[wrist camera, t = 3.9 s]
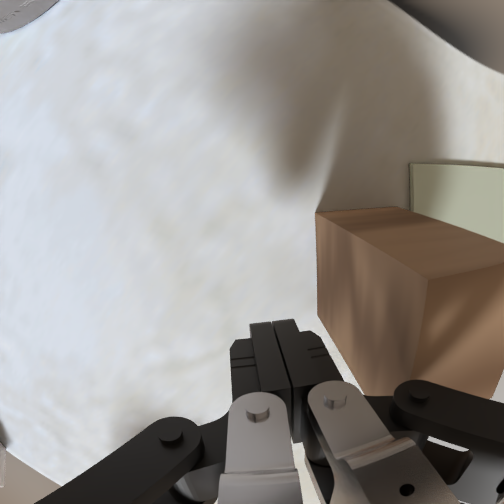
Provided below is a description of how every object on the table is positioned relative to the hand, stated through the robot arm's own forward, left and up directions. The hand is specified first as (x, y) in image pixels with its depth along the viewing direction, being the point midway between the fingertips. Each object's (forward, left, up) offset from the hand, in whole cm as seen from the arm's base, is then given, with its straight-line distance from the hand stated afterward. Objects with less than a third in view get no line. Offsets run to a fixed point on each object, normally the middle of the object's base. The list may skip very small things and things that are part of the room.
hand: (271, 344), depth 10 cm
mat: (0, +15, -7) cm, 17 cm away
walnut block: (0, +6, -7) cm, 9 cm away
